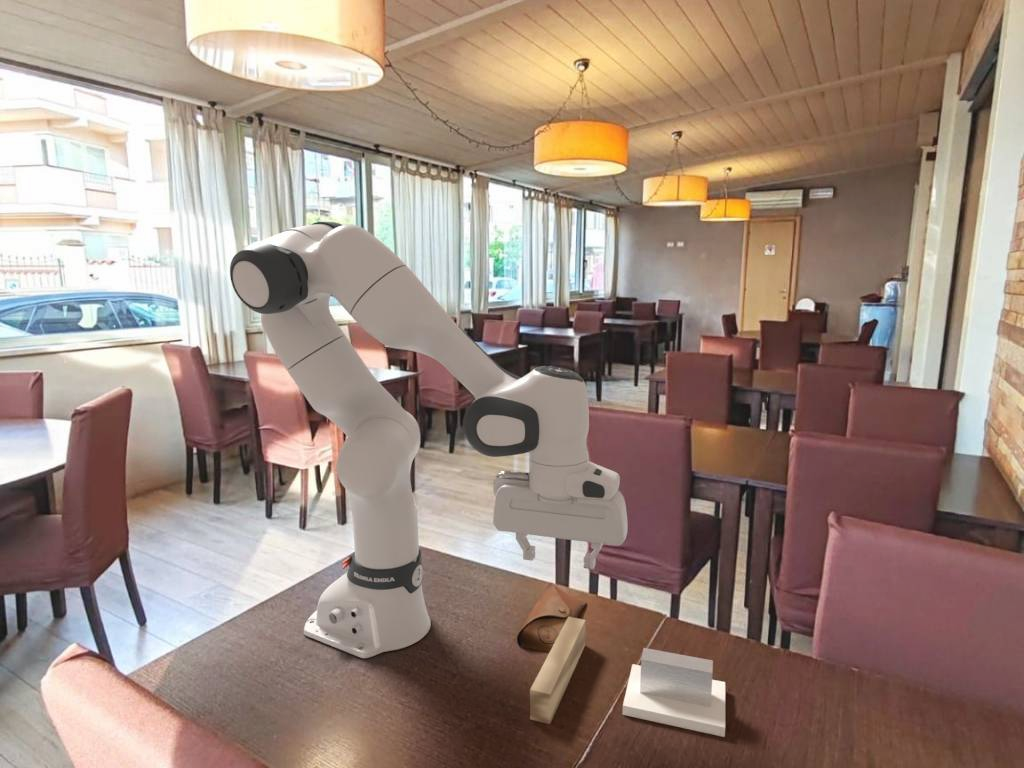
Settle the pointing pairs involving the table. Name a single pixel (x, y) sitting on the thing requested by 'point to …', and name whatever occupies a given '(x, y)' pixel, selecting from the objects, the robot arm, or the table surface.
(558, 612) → the sunglasses case
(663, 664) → the ridge stand
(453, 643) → the table surface
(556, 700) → the oak rod
